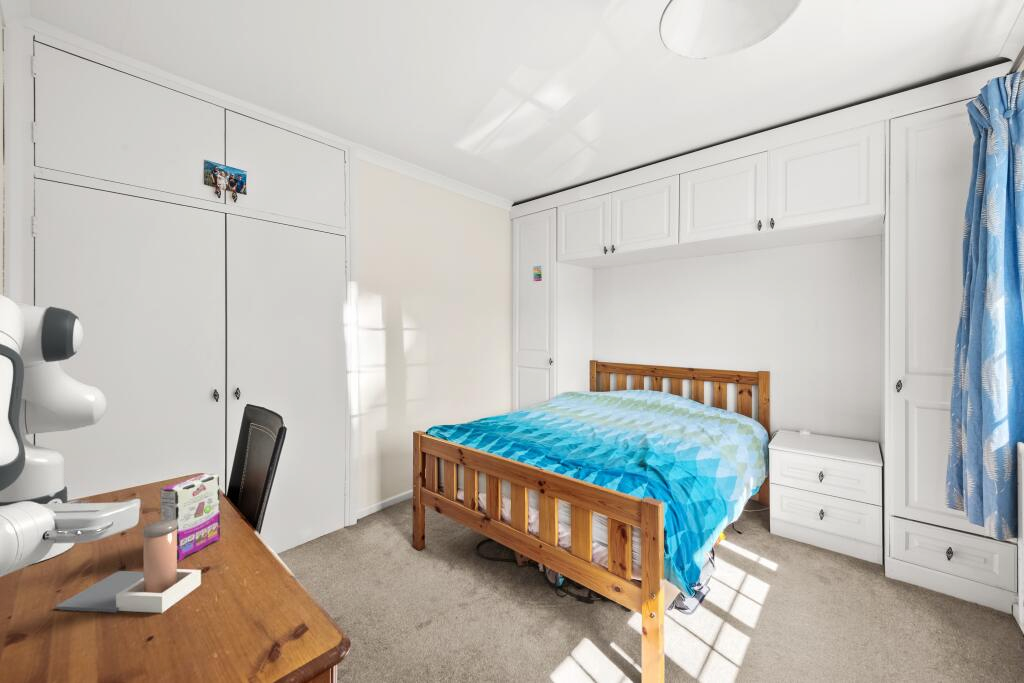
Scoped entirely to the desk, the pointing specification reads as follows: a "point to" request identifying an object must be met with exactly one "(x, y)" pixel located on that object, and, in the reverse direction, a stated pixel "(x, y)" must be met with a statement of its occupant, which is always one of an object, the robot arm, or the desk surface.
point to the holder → (158, 594)
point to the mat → (102, 593)
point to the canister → (160, 556)
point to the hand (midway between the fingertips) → (108, 504)
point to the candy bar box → (193, 512)
